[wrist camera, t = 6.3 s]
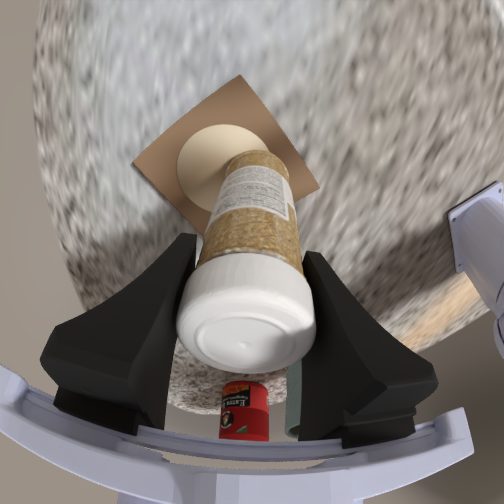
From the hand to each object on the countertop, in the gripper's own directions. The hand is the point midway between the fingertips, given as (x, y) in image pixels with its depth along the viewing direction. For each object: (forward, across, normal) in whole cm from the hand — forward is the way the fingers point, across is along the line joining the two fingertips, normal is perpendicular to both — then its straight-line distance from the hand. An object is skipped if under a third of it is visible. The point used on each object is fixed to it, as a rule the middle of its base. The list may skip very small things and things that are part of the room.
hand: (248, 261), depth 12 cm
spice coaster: (+10, +2, 0) cm, 11 cm away
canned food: (+11, -5, +37) cm, 39 cm away
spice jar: (+10, 0, 0) cm, 10 cm away
